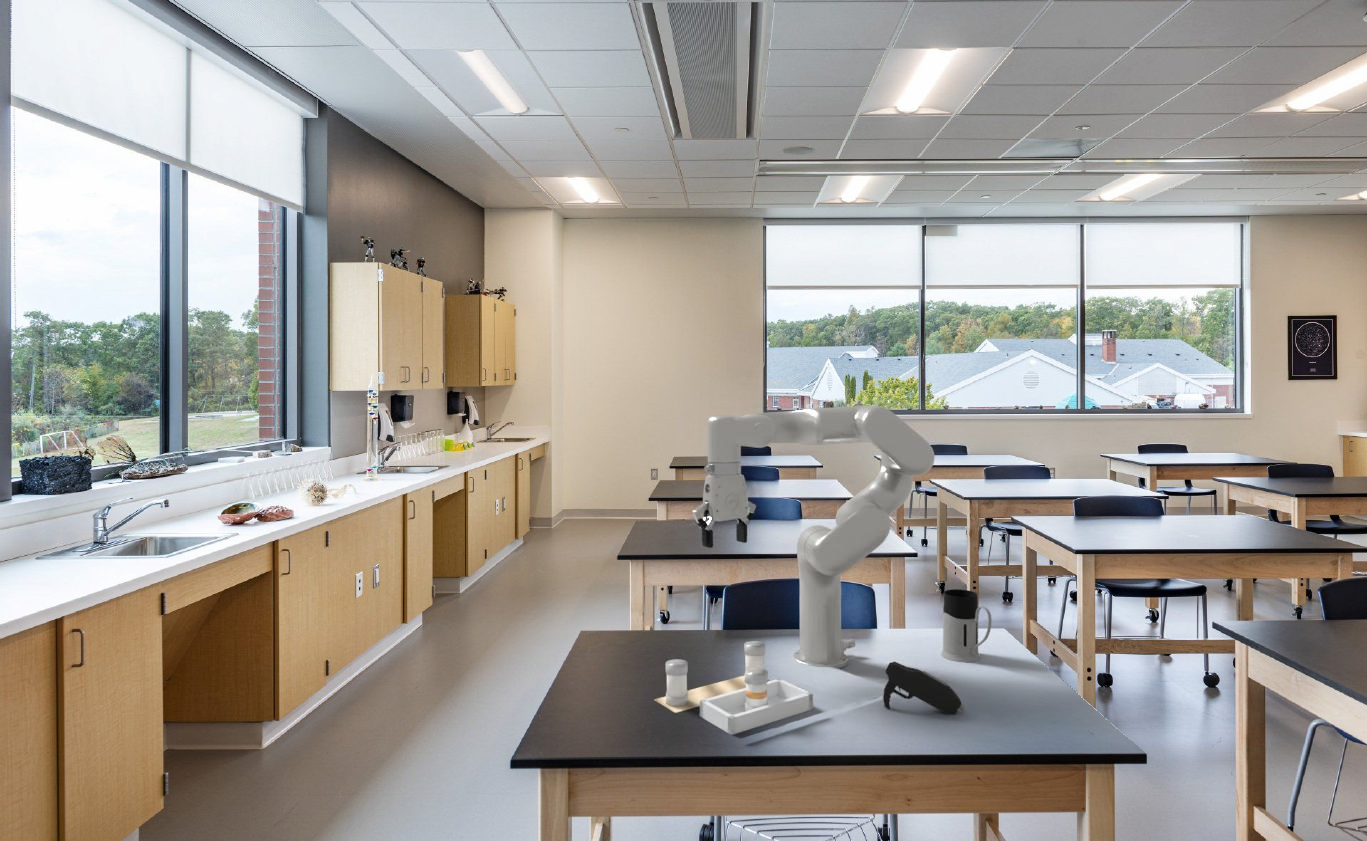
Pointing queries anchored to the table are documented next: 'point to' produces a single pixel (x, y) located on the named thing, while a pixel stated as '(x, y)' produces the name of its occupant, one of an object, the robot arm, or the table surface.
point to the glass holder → (962, 625)
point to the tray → (734, 718)
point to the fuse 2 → (754, 654)
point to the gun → (921, 688)
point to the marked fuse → (756, 688)
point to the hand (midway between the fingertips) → (725, 544)
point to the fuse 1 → (676, 683)
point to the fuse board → (707, 693)
